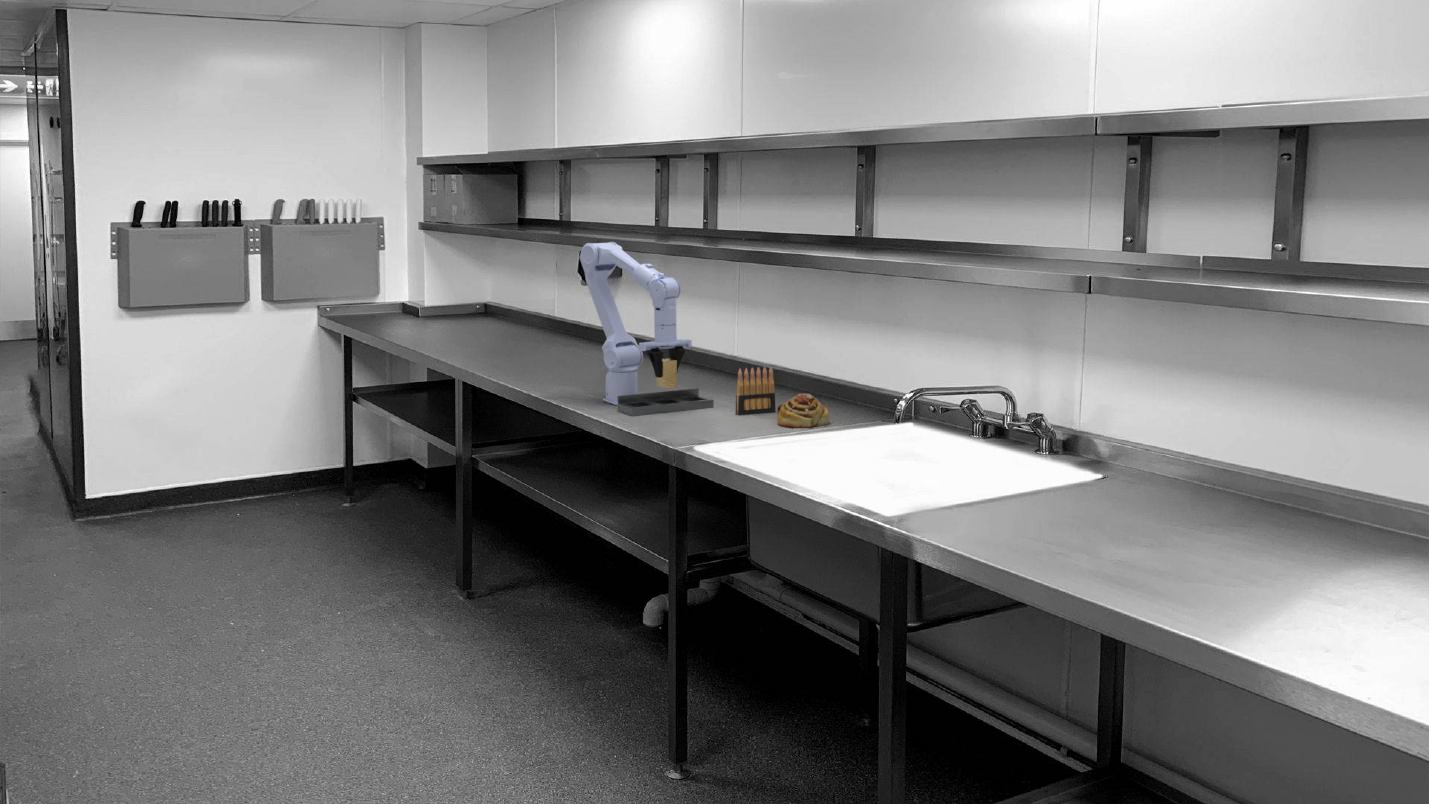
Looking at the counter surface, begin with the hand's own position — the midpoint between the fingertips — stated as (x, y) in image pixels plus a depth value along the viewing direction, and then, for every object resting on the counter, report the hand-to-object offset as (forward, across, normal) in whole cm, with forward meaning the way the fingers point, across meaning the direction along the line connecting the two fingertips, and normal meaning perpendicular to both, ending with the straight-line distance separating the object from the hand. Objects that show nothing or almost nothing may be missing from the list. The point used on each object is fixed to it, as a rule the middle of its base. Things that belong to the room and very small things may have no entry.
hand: (666, 376), depth 315 cm
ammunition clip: (+9, +17, -17) cm, 26 cm away
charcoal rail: (+9, 0, 0) cm, 9 cm away
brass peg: (+3, 0, 0) cm, 3 cm away
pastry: (+9, +20, -34) cm, 41 cm away
